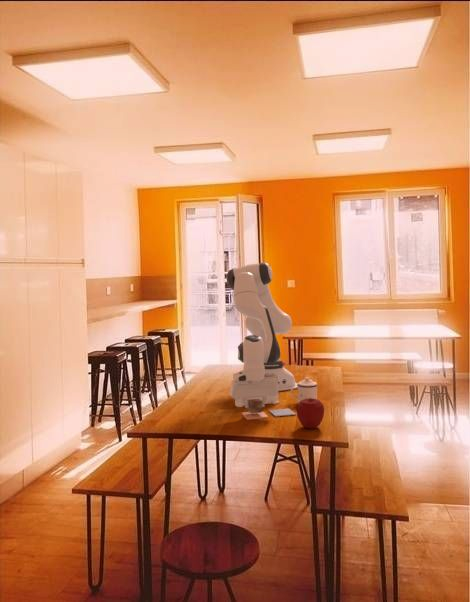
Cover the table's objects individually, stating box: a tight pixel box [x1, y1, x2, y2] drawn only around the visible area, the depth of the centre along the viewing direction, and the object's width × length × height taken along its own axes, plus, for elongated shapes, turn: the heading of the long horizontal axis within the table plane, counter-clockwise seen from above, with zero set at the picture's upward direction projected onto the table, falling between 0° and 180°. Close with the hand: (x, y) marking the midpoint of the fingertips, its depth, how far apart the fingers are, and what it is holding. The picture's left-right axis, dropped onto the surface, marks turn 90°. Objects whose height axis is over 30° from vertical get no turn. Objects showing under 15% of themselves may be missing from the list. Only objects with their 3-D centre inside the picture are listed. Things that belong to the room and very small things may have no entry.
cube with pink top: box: [247, 398, 263, 413], centre depth 215 cm, size 5×5×5 cm
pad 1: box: [241, 410, 269, 421], centre depth 216 cm, size 9×9×1 cm
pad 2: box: [268, 408, 297, 418], centre depth 218 cm, size 9×9×1 cm
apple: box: [295, 398, 325, 430], centre depth 198 cm, size 11×11×12 cm
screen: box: [234, 382, 280, 408], centre depth 234 cm, size 20×5×10 cm, turn 103°
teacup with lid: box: [290, 377, 318, 404], centre depth 234 cm, size 12×9×12 cm
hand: (254, 407), depth 216 cm, fingers closed on cube with pink top, 5 cm apart
